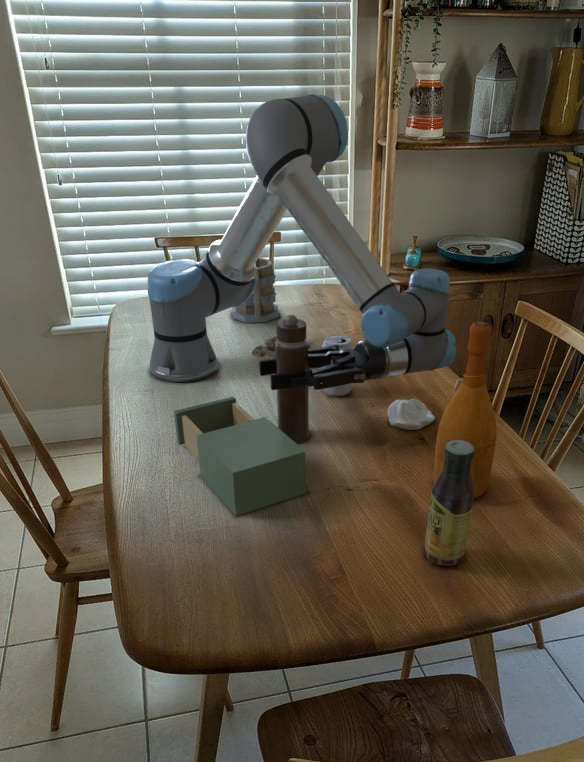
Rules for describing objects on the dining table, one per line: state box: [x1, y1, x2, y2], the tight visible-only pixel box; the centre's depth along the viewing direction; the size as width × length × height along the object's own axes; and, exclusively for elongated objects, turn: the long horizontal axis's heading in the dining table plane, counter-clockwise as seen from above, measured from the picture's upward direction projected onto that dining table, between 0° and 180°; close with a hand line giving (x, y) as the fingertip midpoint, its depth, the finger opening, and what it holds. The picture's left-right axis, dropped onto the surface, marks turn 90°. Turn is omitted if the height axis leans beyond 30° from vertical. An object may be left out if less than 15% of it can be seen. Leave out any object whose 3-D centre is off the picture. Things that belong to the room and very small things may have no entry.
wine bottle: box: [433, 321, 498, 499], centre depth 120 cm, size 10×10×30 cm
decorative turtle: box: [251, 335, 316, 359], centre depth 174 cm, size 18×17×5 cm
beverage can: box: [321, 334, 353, 397], centre depth 157 cm, size 6×6×12 cm
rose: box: [386, 398, 436, 431], centre depth 148 cm, size 10×4×10 cm
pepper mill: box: [275, 313, 310, 444], centre depth 136 cm, size 6×6×24 cm
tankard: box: [230, 256, 279, 324], centre depth 192 cm, size 20×13×15 cm, turn 6°
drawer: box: [173, 396, 256, 462], centre depth 135 cm, size 15×12×7 cm
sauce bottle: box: [424, 440, 475, 567], centre depth 107 cm, size 7×6×20 cm
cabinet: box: [197, 416, 307, 517], centre depth 126 cm, size 14×13×8 cm
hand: (265, 375), depth 134 cm, fingers closed on pepper mill, 6 cm apart
